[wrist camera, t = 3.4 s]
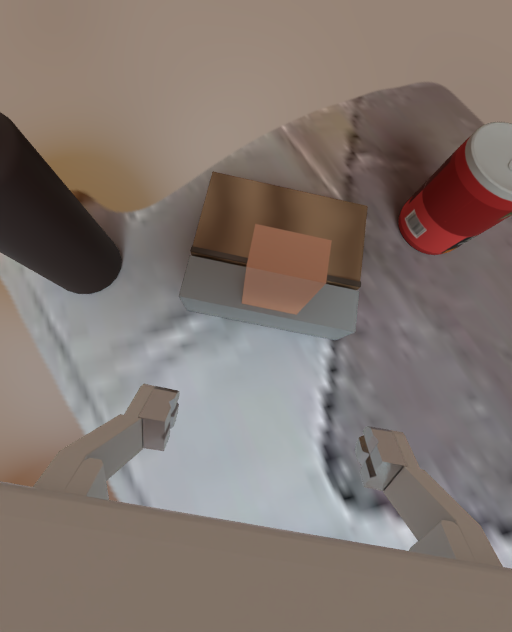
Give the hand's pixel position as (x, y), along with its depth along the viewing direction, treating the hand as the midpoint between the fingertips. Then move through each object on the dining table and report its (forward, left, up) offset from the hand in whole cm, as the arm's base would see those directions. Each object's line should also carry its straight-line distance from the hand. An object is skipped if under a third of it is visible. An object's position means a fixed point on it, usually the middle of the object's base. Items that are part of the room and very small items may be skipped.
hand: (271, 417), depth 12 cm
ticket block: (-11, -12, -16) cm, 23 cm away
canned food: (-29, -5, -16) cm, 34 cm away
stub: (-7, -7, -16) cm, 18 cm away
